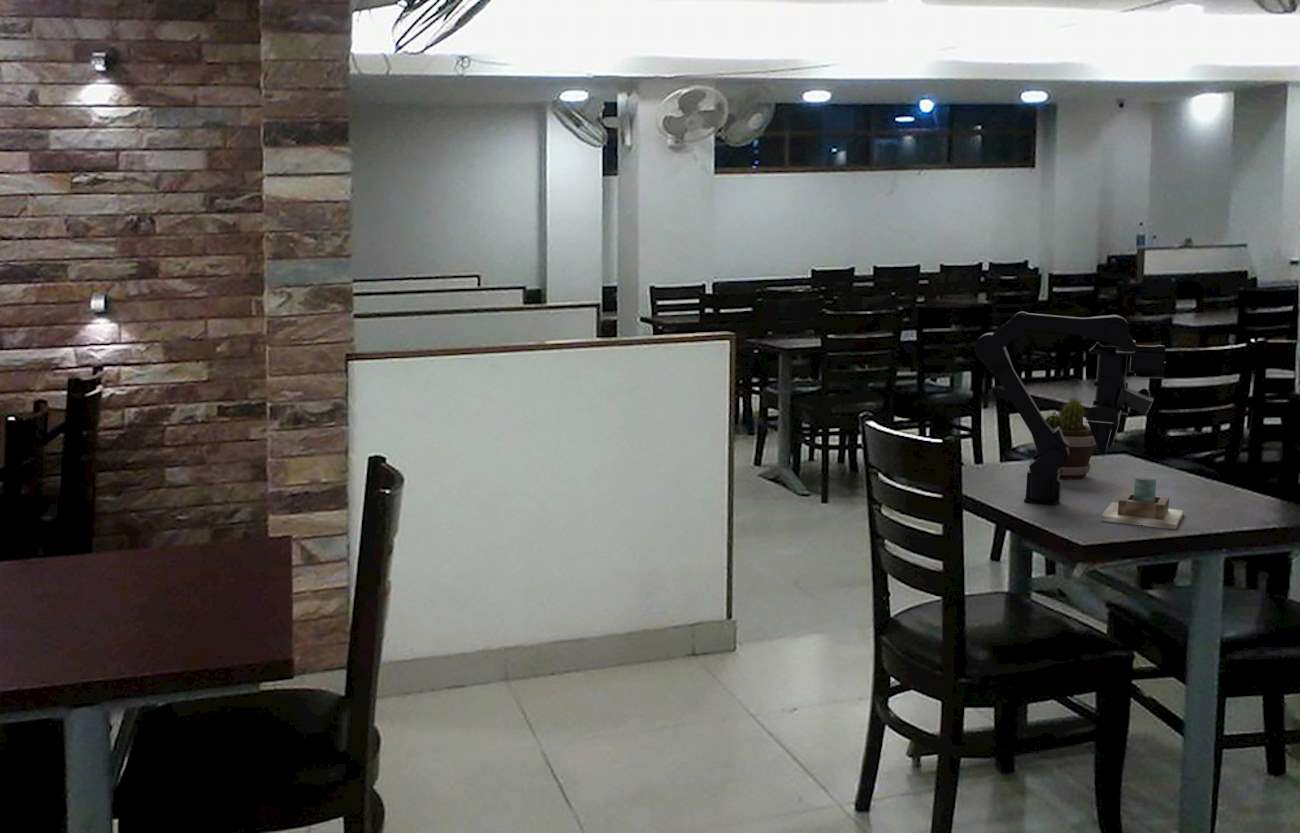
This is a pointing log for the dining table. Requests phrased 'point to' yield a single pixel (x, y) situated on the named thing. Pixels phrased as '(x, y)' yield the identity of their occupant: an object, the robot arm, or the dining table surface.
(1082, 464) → the flowerpot
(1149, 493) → the peg
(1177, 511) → the socket board
